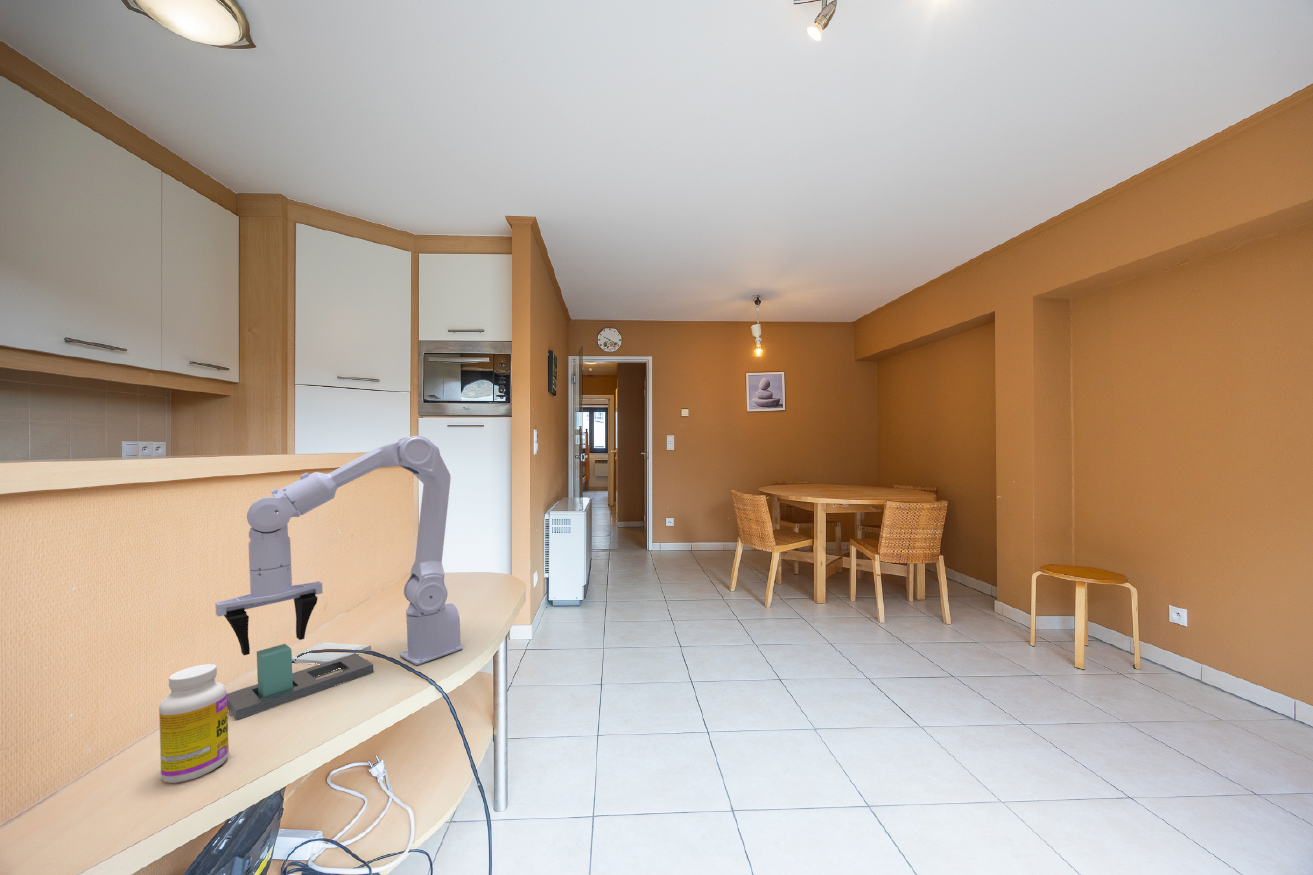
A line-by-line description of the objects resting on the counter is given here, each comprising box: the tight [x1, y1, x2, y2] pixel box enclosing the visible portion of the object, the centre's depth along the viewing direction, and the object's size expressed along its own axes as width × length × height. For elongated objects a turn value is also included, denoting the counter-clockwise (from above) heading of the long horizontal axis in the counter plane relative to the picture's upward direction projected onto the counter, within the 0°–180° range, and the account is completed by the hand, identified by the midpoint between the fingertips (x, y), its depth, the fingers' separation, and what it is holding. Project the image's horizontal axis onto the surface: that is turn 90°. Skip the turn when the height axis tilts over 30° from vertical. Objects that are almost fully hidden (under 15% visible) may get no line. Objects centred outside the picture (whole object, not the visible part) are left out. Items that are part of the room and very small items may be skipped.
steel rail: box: [227, 653, 375, 721], centre depth 89 cm, size 20×9×2 cm, turn 140°
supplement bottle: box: [158, 663, 230, 784], centre depth 66 cm, size 7×7×13 cm
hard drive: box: [292, 641, 372, 664], centre depth 103 cm, size 2×8×12 cm
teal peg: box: [256, 643, 293, 699], centre depth 86 cm, size 4×4×8 cm
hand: (273, 645), depth 86 cm, fingers open, 7 cm apart
